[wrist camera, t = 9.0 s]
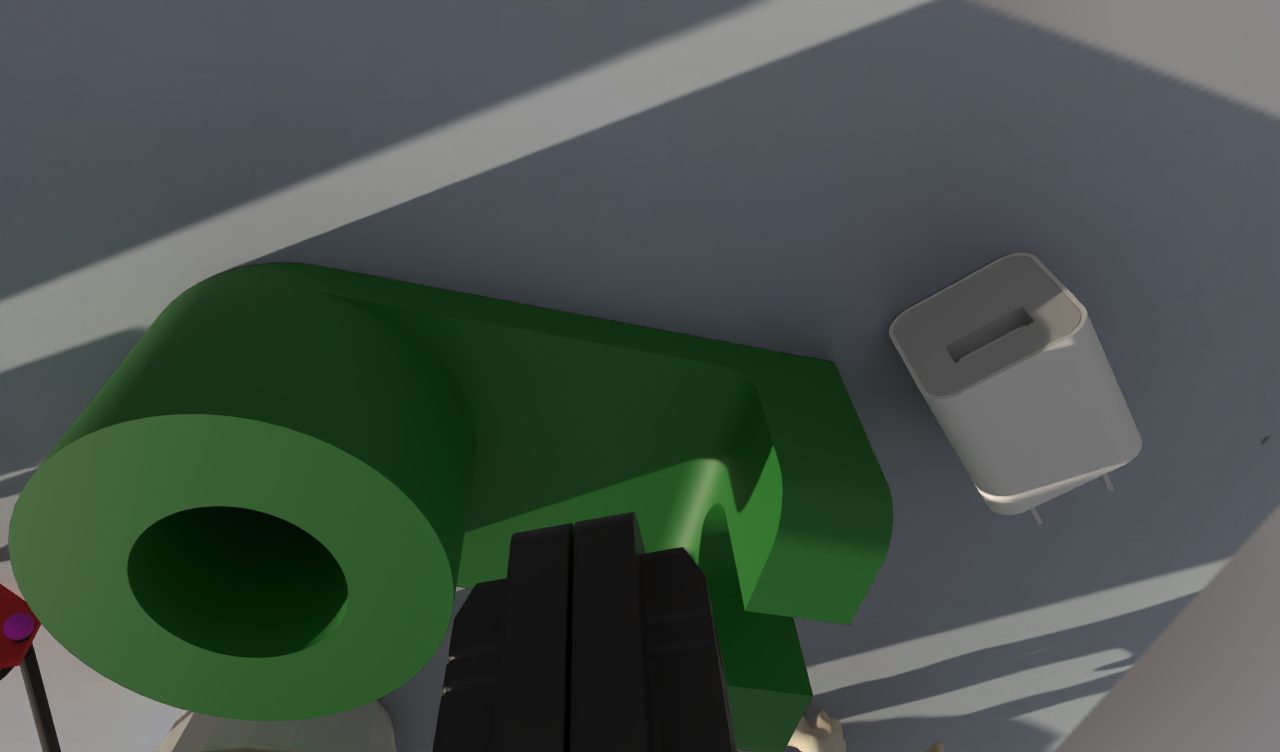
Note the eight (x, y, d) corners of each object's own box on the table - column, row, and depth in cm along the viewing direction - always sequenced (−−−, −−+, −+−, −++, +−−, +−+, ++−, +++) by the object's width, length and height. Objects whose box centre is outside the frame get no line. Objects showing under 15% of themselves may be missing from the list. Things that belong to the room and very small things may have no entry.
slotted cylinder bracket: (144, 512, 26) (33, 698, 21) (128, 230, 22) (-20, 376, 16) (737, 594, 30) (772, 774, 24) (834, 362, 25) (904, 522, 20)
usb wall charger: (1024, 244, 23) (1099, 322, 20) (1106, 424, 27) (1182, 517, 23) (882, 322, 24) (930, 409, 21) (977, 486, 28) (1032, 583, 24)
